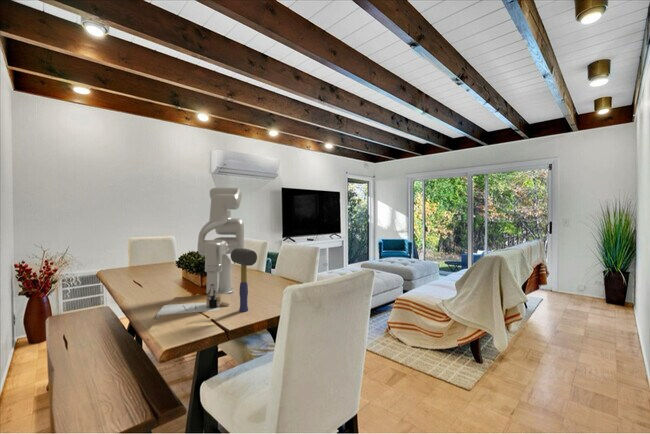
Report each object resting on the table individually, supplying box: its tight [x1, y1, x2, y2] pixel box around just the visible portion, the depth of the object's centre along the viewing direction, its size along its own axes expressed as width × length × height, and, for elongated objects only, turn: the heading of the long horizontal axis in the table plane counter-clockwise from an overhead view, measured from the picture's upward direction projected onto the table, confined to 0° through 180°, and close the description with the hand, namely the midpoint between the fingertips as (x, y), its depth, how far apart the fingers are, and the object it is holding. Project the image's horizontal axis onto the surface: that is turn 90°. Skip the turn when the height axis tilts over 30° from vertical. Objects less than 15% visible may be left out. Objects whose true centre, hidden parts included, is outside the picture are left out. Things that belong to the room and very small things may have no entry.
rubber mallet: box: [230, 248, 258, 313], centre depth 138 cm, size 12×8×30 cm, turn 48°
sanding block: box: [205, 293, 222, 308], centre depth 144 cm, size 5×6×5 cm
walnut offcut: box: [220, 301, 230, 308], centre depth 145 cm, size 4×4×2 cm
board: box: [155, 301, 221, 319], centre depth 142 cm, size 14×26×2 cm, turn 105°
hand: (213, 305), depth 144 cm, fingers closed on sanding block, 5 cm apart
